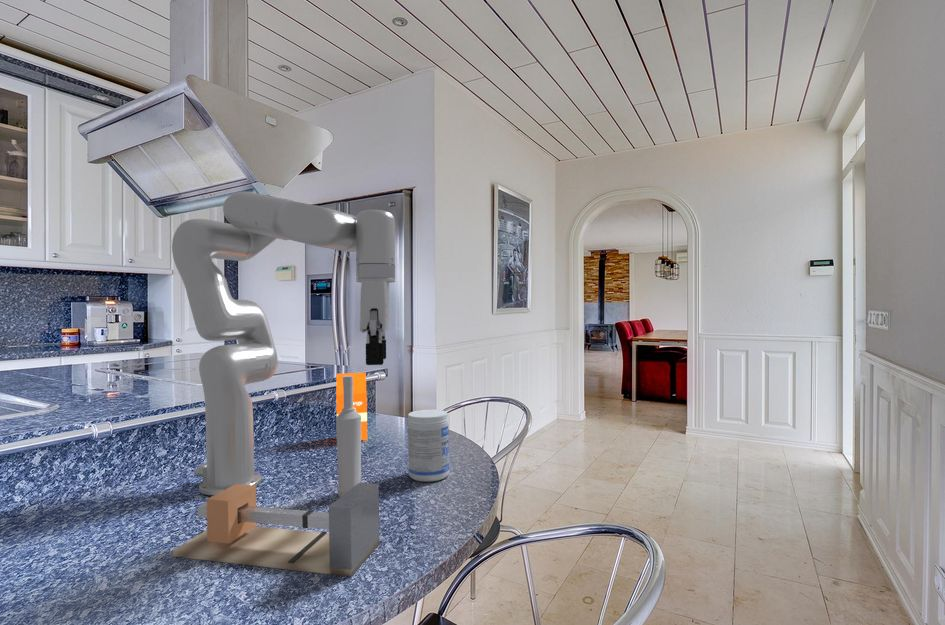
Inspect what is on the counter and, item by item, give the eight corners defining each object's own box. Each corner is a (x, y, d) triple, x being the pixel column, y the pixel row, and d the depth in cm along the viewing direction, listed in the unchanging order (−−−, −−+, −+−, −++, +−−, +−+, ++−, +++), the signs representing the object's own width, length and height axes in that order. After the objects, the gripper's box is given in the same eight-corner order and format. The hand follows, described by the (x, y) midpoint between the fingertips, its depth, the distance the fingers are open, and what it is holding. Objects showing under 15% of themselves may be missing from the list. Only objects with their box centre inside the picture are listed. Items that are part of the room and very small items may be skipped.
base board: (173, 556, 77) (173, 548, 77) (219, 528, 87) (218, 521, 87) (351, 576, 70) (351, 568, 70) (379, 544, 80) (379, 536, 80)
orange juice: (337, 436, 149) (336, 372, 149) (367, 434, 151) (365, 371, 151) (336, 443, 142) (335, 375, 141) (367, 441, 144) (366, 374, 143)
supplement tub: (452, 481, 109) (451, 416, 109) (410, 485, 107) (409, 418, 107) (445, 467, 119) (444, 407, 118) (406, 471, 116) (405, 410, 116)
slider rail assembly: (178, 556, 77) (177, 494, 77) (223, 528, 87) (222, 473, 87) (351, 576, 70) (350, 508, 70) (379, 544, 80) (378, 483, 80)
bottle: (356, 500, 99) (353, 378, 99) (332, 498, 100) (330, 378, 100) (366, 490, 104) (364, 374, 104) (344, 489, 105) (342, 374, 105)
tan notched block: (207, 541, 78) (206, 499, 78) (236, 522, 84) (236, 484, 84) (228, 543, 77) (228, 500, 77) (256, 524, 83) (256, 485, 83)
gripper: (360, 277, 103) (361, 357, 103) (350, 271, 85) (351, 367, 86) (396, 277, 104) (397, 357, 104) (393, 271, 86) (394, 366, 87)
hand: (376, 361), depth 95 cm, fingers open, 9 cm apart
